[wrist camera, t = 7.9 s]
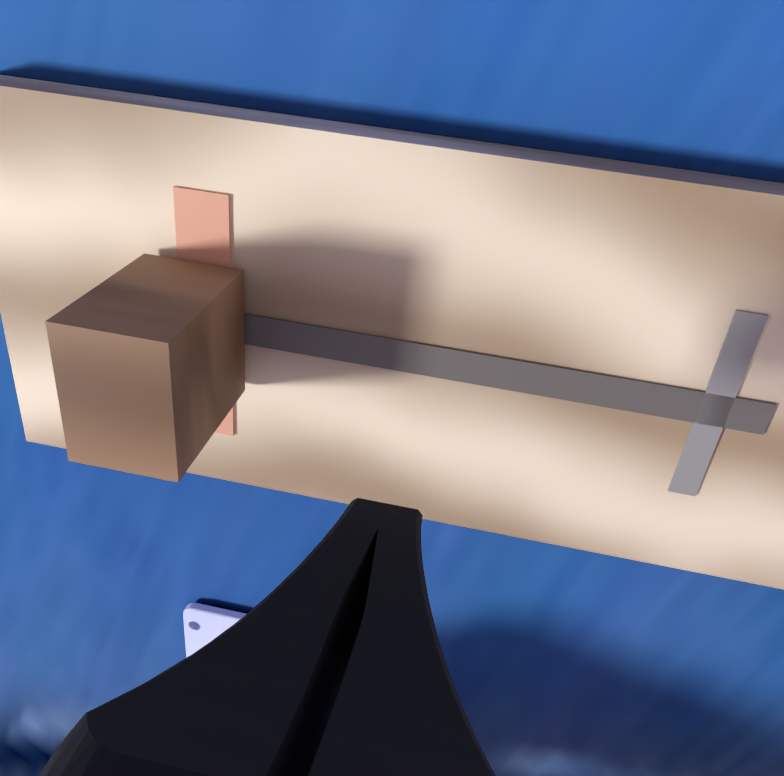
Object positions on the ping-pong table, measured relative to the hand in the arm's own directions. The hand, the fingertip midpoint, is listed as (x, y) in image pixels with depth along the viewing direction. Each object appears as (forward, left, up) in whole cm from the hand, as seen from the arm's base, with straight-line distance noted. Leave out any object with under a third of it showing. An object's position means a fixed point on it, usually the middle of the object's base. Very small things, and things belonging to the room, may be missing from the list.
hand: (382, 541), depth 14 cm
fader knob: (0, +7, -8) cm, 10 cm away
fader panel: (0, 0, -9) cm, 9 cm away
